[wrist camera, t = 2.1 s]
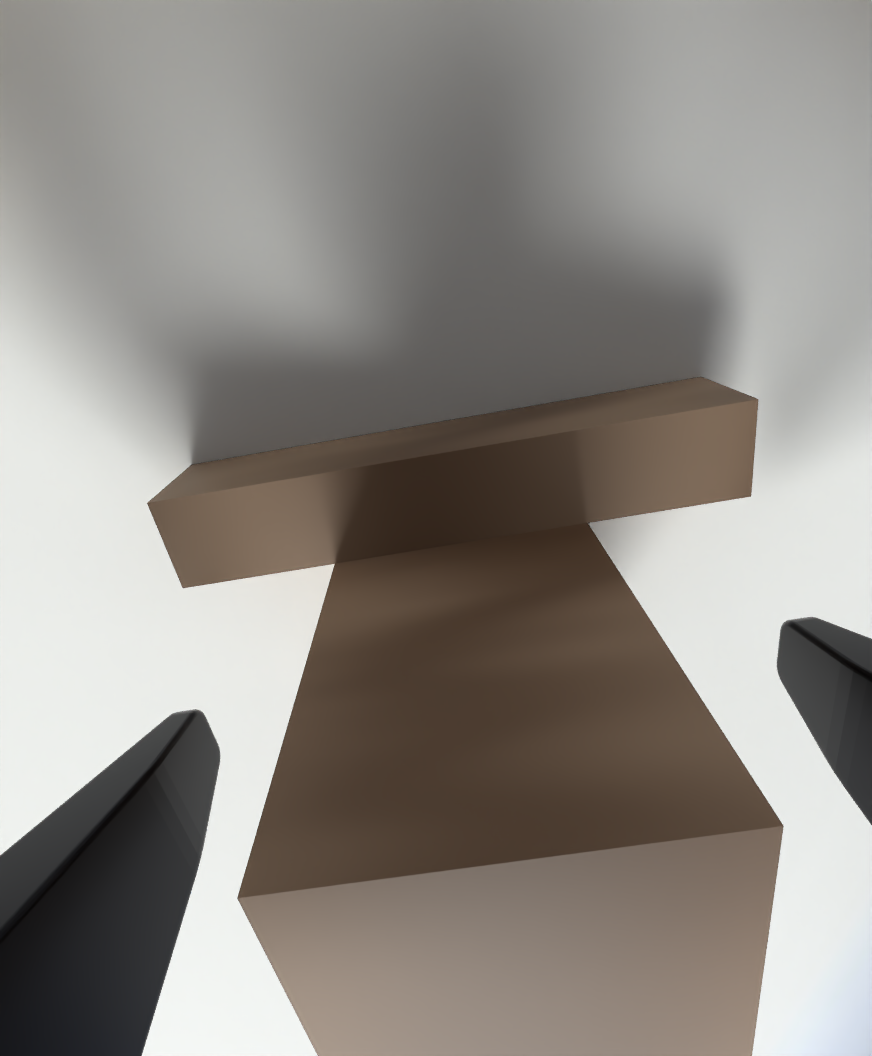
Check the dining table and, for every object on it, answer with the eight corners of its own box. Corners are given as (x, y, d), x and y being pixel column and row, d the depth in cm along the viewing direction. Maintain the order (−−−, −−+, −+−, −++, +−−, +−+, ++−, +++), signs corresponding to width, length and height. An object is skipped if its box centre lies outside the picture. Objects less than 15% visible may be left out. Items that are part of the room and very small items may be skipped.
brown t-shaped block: (701, 377, 10) (1248, 592, 3) (693, 638, 12) (1003, 1064, 6) (191, 464, 10) (-206, 807, 4) (279, 700, 12) (128, 1159, 6)
